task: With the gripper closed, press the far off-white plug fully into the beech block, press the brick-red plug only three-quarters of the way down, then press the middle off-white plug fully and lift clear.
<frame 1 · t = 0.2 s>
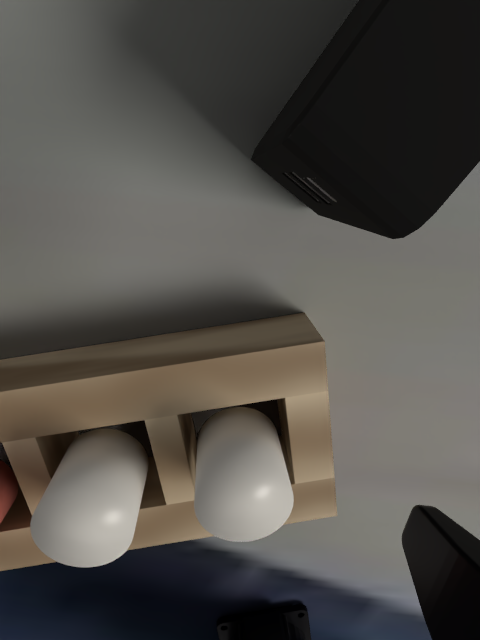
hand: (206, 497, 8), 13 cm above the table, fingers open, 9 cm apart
electronic device: (349, 94, 18), on the table
beech block: (121, 424, 23), on the table
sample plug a: (240, 469, 18), point 5 cm above the table, slide at 0.0 cm
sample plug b: (96, 493, 18), point 5 cm above the table, slide at 0.0 cm
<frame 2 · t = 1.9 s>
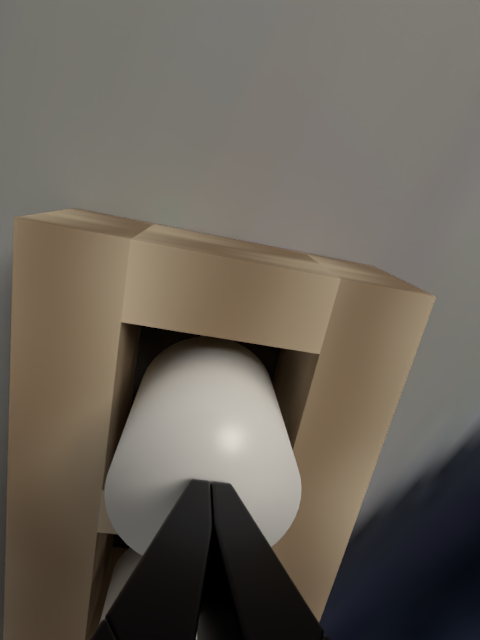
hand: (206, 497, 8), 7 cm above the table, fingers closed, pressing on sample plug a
beech block: (180, 505, 16), on the table
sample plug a: (206, 439, 10), point 5 cm above the table, slide at -0.7 cm, touching gripper
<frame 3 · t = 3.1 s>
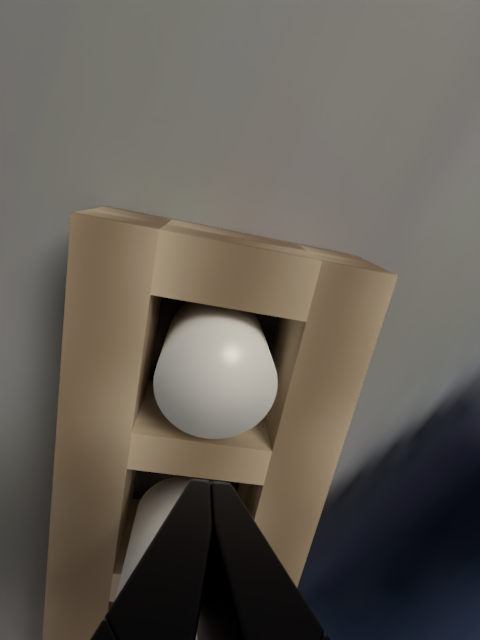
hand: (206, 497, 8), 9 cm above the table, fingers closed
beech block: (191, 462, 19), on the table
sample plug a: (215, 360, 15), point 2 cm above the table, slide at -2.8 cm
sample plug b: (183, 561, 14), point 5 cm above the table, slide at 0.0 cm
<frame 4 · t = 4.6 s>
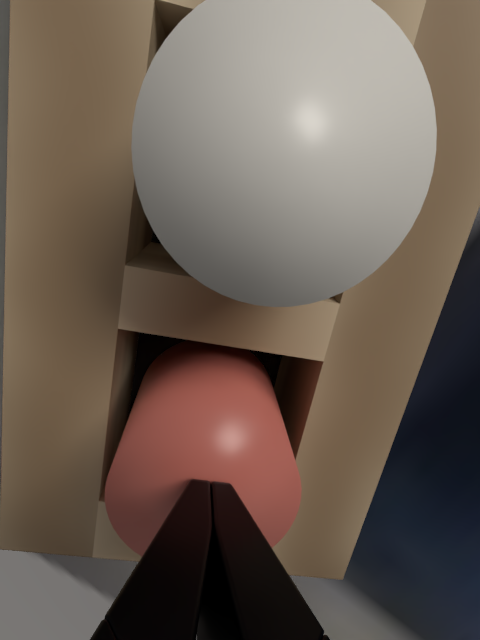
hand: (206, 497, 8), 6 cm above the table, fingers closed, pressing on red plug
beech block: (244, 175, 12), on the table
red plug: (206, 440, 10), point 4 cm above the table, slide at -1.1 cm, touching gripper
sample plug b: (267, 167, 7), point 5 cm above the table, slide at 0.0 cm
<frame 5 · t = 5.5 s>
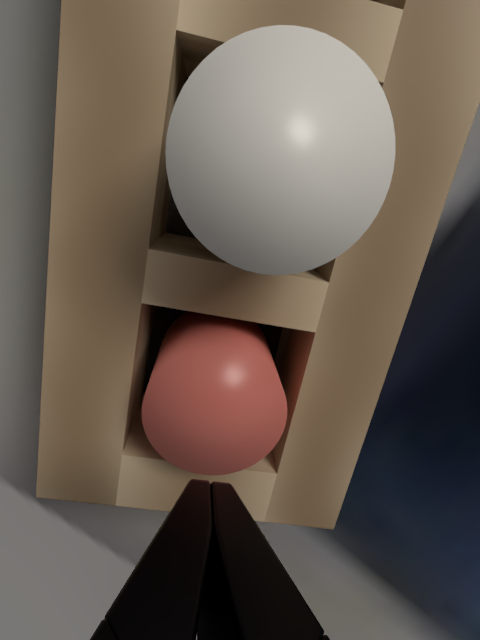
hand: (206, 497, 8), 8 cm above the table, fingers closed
beech block: (247, 174, 14), on the table
red plug: (215, 381, 13), point 3 cm above the table, slide at -2.2 cm
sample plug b: (267, 167, 9), point 5 cm above the table, slide at 0.0 cm
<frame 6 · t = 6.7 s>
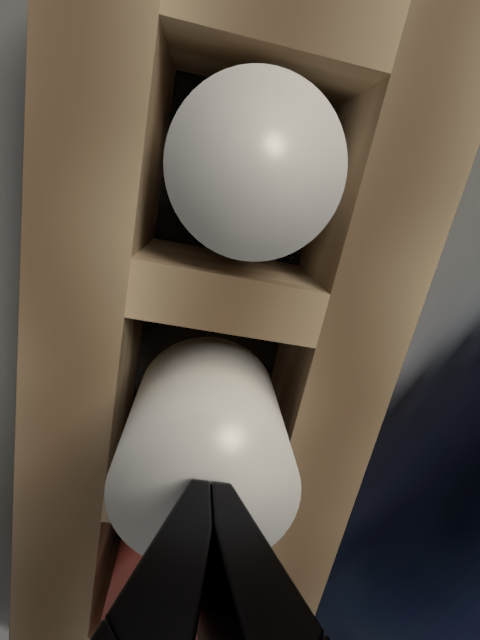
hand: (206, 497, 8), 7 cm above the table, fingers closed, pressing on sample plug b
beech block: (207, 358, 15), on the table
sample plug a: (248, 172, 10), point 2 cm above the table, slide at -2.8 cm
red plug: (175, 564, 14), point 3 cm above the table, slide at -2.2 cm
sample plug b: (205, 439, 10), point 5 cm above the table, slide at -0.3 cm, touching gripper
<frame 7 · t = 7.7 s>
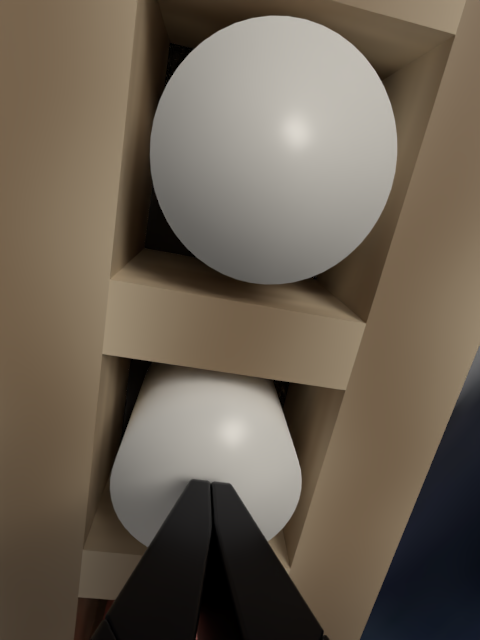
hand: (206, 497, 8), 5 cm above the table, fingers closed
beech block: (209, 387, 13), on the table
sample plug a: (261, 168, 8), point 2 cm above the table, slide at -2.8 cm
red plug: (170, 635, 12), point 3 cm above the table, slide at -2.2 cm
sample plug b: (208, 433, 10), point 2 cm above the table, slide at -2.8 cm
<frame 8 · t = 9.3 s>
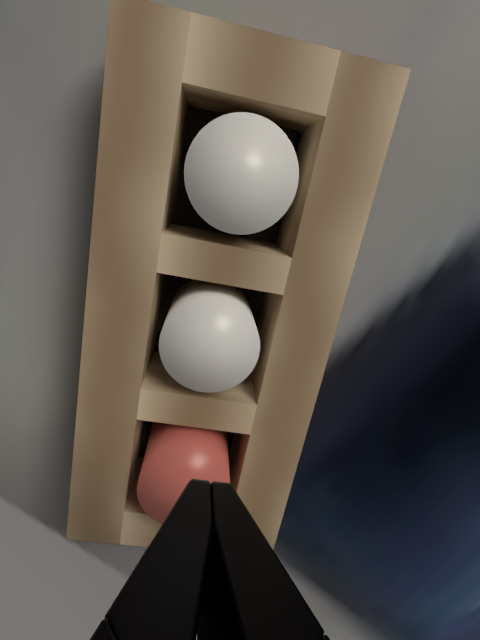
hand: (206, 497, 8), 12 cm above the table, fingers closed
beech block: (210, 313, 20), on the table
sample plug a: (238, 177, 16), point 2 cm above the table, slide at -2.8 cm
red plug: (186, 460, 19), point 3 cm above the table, slide at -2.2 cm
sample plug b: (210, 330, 18), point 2 cm above the table, slide at -2.8 cm
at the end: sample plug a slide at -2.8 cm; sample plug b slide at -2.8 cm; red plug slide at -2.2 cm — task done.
